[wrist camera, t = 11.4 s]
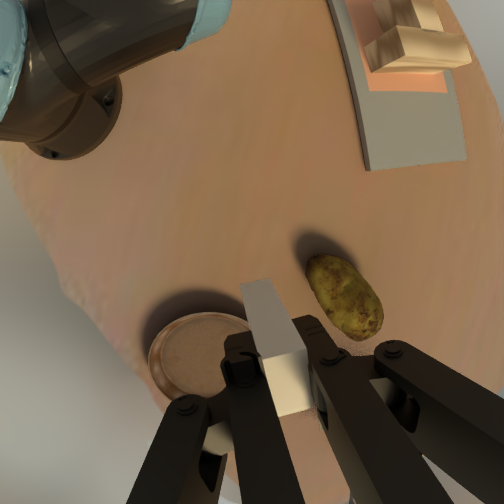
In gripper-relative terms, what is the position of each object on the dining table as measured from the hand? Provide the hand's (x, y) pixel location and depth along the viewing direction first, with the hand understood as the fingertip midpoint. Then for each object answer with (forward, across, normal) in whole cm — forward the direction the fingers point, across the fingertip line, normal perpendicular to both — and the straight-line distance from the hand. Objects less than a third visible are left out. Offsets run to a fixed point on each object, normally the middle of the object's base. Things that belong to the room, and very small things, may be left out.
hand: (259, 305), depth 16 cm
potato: (+26, +13, -13) cm, 32 cm away
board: (+27, +30, +18) cm, 43 cm away
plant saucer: (+26, -7, -19) cm, 33 cm away
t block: (+25, +29, +22) cm, 44 cm away
